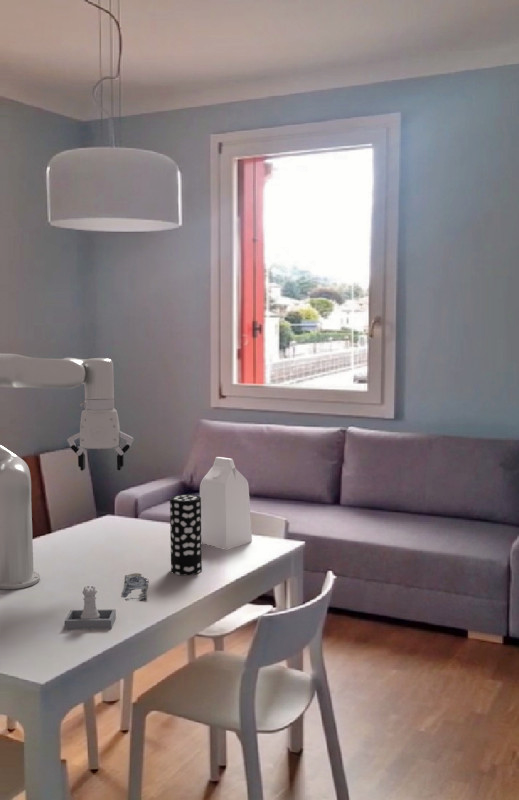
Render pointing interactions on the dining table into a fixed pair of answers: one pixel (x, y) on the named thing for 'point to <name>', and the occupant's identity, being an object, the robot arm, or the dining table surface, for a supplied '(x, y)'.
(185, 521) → the white-spotted black cylinder
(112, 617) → the gray rectangular open tray
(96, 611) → the rook chess piece
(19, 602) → the dining table surface
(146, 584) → the driftwood
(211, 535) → the milk
